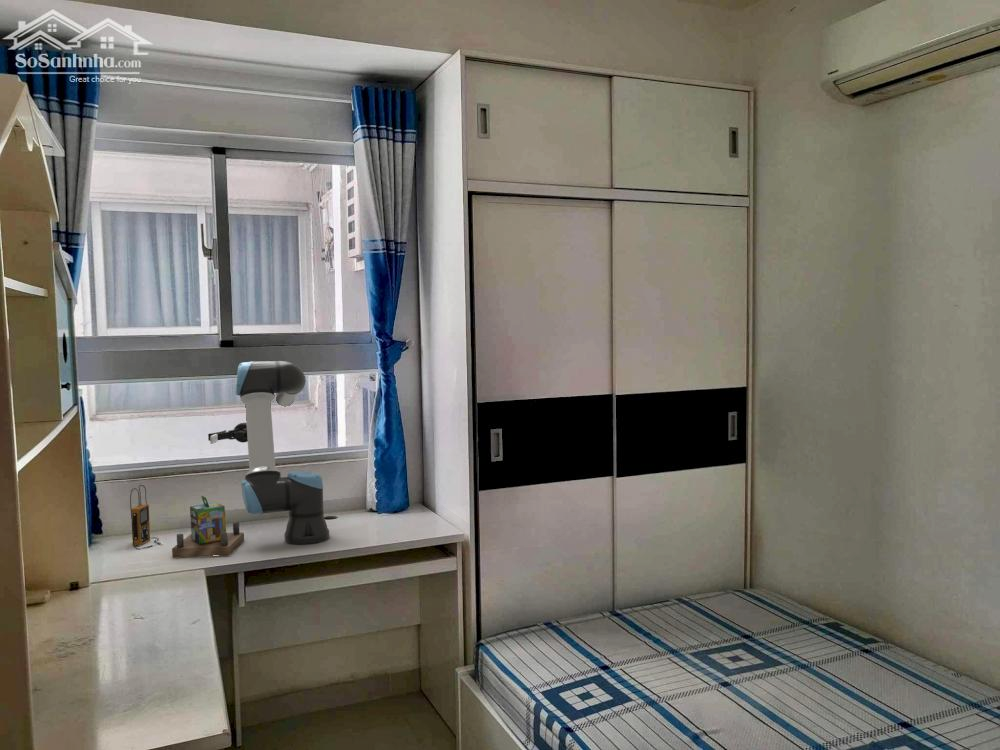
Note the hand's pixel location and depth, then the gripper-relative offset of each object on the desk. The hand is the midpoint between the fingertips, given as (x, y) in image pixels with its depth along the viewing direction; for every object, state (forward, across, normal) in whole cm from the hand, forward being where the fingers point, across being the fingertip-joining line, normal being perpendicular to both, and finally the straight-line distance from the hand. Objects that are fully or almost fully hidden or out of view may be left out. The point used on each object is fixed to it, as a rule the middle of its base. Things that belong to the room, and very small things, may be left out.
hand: (230, 439), depth 281 cm
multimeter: (+15, +24, -34) cm, 44 cm away
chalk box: (+24, +2, -30) cm, 39 cm away
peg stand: (+24, +2, -33) cm, 41 cm away
